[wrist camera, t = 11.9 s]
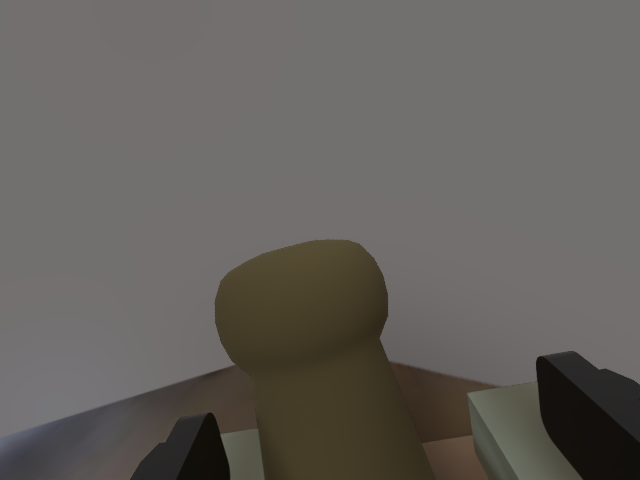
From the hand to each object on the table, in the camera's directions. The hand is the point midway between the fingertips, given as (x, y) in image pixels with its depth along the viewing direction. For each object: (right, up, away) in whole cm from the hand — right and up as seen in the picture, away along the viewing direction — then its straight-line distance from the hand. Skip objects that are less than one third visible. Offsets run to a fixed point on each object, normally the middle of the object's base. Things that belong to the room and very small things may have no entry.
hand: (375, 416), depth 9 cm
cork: (0, -7, +3) cm, 7 cm away
